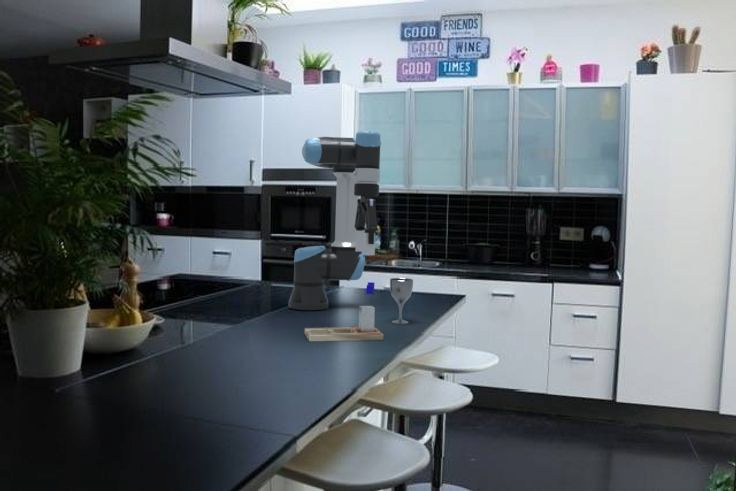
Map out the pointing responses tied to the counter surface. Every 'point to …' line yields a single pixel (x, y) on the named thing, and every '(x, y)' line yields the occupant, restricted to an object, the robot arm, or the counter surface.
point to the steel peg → (366, 318)
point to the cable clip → (370, 288)
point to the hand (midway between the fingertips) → (364, 253)
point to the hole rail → (341, 334)
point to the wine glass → (401, 294)
